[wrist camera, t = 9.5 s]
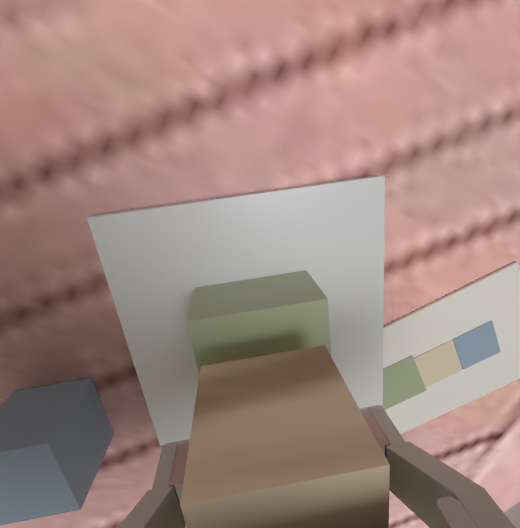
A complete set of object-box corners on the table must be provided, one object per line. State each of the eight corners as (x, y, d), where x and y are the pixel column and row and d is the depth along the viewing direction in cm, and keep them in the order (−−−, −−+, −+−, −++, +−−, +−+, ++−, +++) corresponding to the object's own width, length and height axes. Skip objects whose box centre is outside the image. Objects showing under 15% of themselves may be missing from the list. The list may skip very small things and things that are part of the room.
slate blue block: (15, 390, 19) (-55, 462, 14) (92, 376, 19) (47, 443, 15) (44, 446, 21) (-12, 527, 16) (114, 432, 21) (80, 509, 16)
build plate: (96, 214, 16) (38, 234, 11) (374, 175, 17) (433, 177, 12) (163, 431, 21) (143, 510, 16) (374, 393, 22) (416, 457, 17)
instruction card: (329, 352, 20) (331, 355, 20) (515, 261, 20) (519, 262, 19) (376, 442, 24) (378, 445, 23) (537, 367, 23) (541, 369, 23)
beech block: (200, 366, 11) (180, 505, 7) (324, 345, 12) (389, 464, 7) (222, 458, 13) (217, 624, 8) (330, 438, 13) (387, 587, 8)
